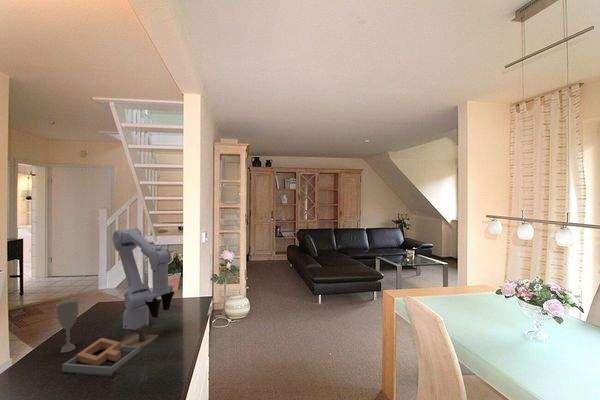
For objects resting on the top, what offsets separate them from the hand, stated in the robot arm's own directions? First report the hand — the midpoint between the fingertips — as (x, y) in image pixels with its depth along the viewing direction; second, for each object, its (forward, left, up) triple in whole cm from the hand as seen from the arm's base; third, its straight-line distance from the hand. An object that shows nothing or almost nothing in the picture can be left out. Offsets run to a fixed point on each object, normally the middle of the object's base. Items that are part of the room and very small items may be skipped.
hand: (160, 313), depth 118 cm
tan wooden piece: (-6, -6, -9) cm, 13 cm away
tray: (-8, -20, -9) cm, 24 cm away
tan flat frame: (-9, -19, -8) cm, 22 cm away
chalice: (-27, -15, -10) cm, 32 cm away
